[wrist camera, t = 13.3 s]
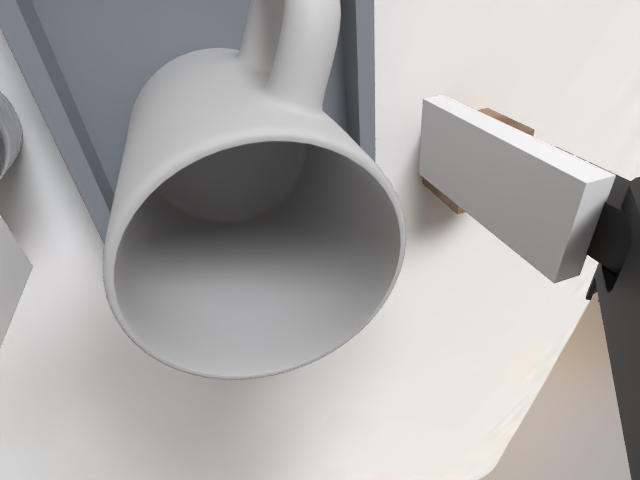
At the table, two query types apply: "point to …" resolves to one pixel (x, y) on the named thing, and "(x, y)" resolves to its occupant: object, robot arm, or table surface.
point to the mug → (249, 207)
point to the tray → (152, 71)
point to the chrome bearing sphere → (8, 135)
